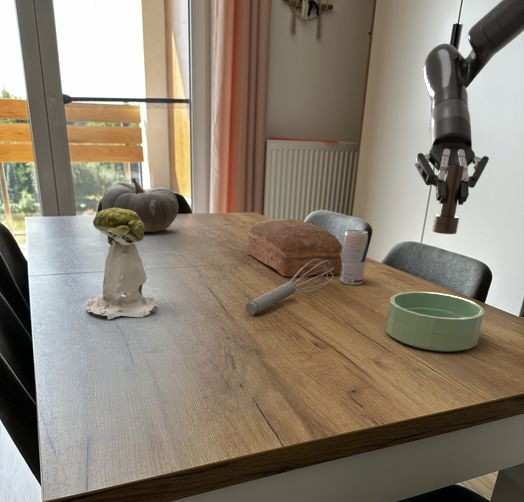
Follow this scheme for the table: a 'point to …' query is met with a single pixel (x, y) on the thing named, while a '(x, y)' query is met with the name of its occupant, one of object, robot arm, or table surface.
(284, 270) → the bread
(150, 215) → the gourd
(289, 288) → the kitchen whisk
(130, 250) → the mushroom
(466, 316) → the bowl
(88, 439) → the table surface
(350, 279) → the energy drink
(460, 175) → the pestle
